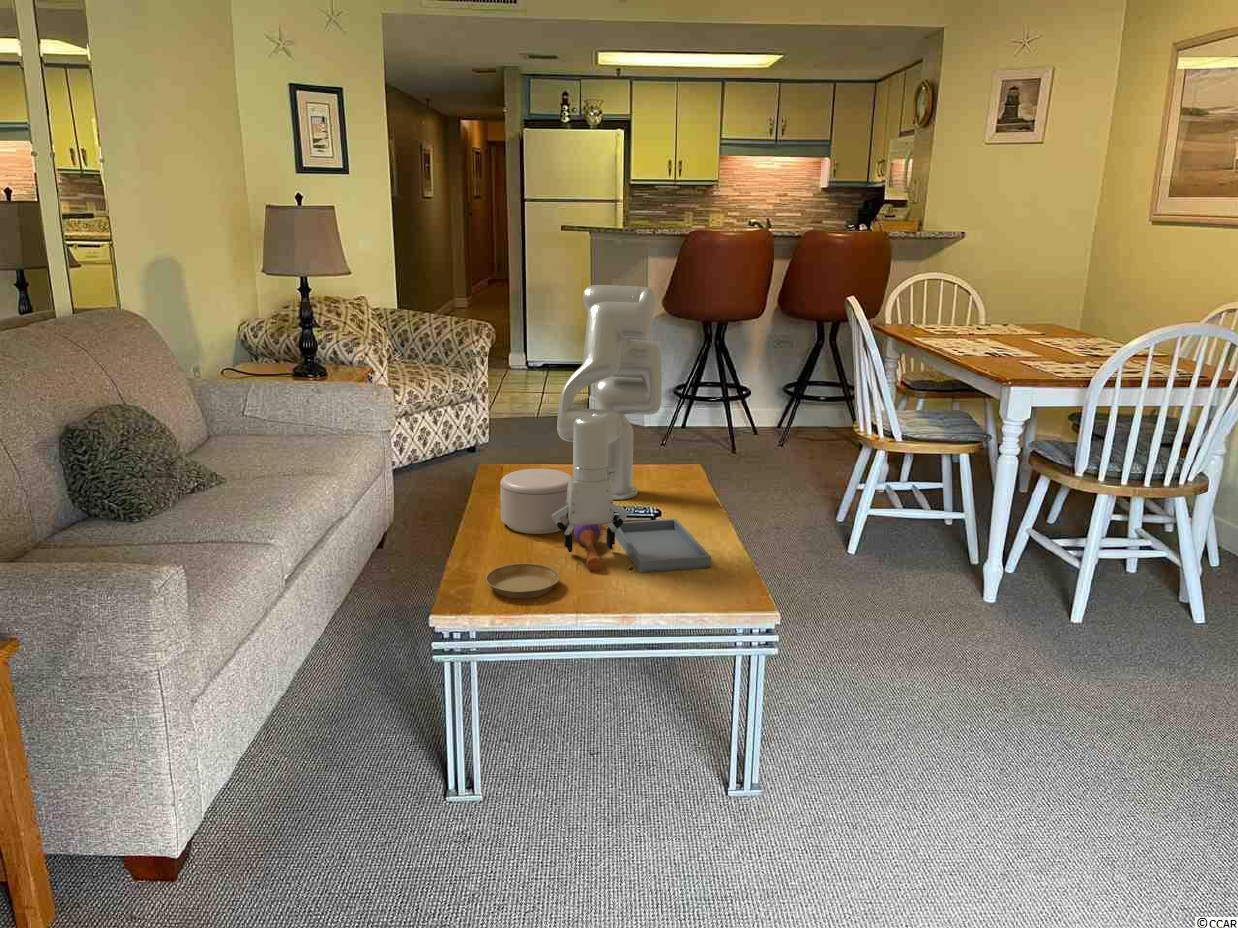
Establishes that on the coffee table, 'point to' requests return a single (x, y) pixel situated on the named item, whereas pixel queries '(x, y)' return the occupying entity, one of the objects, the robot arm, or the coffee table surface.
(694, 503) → the coffee table surface
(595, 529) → the kendama
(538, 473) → the container
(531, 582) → the plant saucer
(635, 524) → the tray
